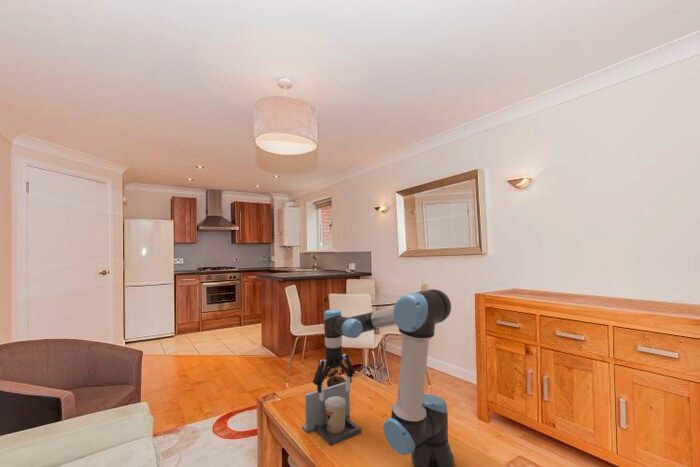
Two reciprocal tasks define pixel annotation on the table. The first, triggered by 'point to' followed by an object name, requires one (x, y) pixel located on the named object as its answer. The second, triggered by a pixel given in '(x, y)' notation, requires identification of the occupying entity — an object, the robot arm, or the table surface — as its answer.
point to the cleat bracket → (332, 438)
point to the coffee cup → (335, 414)
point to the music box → (334, 378)
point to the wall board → (322, 406)
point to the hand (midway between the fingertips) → (335, 395)
